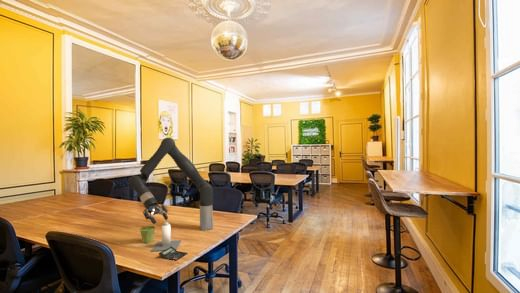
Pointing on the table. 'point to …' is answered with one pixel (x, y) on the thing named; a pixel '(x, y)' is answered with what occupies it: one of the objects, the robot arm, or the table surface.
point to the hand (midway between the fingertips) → (161, 221)
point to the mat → (160, 248)
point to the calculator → (172, 254)
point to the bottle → (166, 234)
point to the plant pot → (147, 233)
